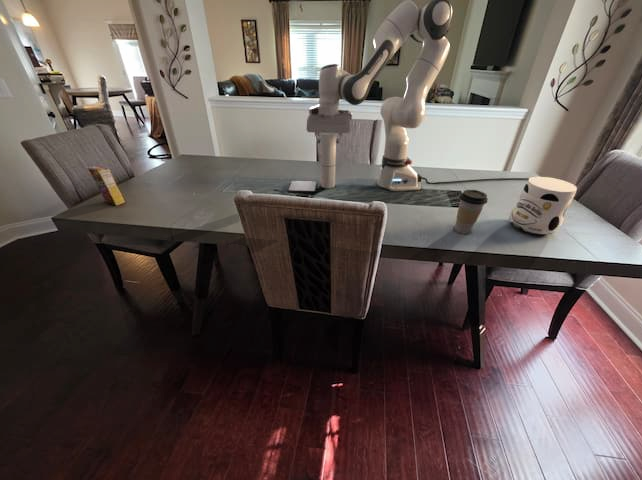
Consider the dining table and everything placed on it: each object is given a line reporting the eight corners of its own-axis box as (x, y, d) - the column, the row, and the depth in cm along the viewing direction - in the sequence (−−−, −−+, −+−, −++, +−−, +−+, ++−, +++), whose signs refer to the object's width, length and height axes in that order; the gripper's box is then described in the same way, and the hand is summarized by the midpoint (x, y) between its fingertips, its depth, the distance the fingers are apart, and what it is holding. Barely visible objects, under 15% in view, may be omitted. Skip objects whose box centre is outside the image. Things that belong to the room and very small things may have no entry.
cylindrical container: (335, 183, 148) (336, 131, 133) (334, 188, 142) (335, 135, 127) (321, 182, 149) (321, 131, 133) (320, 187, 143) (319, 134, 128)
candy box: (104, 201, 127) (86, 167, 117) (114, 198, 130) (97, 164, 120) (115, 206, 123) (98, 171, 114) (125, 202, 126) (109, 168, 117)
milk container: (502, 230, 111) (522, 185, 100) (508, 214, 122) (527, 172, 111) (554, 243, 103) (582, 197, 92) (555, 225, 115) (580, 181, 104)
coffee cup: (468, 224, 114) (481, 188, 105) (479, 236, 107) (494, 199, 98) (446, 224, 114) (457, 188, 105) (455, 236, 106) (467, 199, 97)
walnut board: (316, 183, 148) (316, 181, 147) (314, 193, 137) (314, 191, 137) (292, 182, 148) (292, 180, 147) (288, 192, 138) (288, 190, 137)
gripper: (352, 109, 126) (350, 141, 135) (307, 107, 127) (307, 140, 136) (352, 111, 121) (350, 145, 130) (305, 110, 122) (306, 144, 131)
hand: (328, 142), depth 133 cm, fingers open, 8 cm apart
